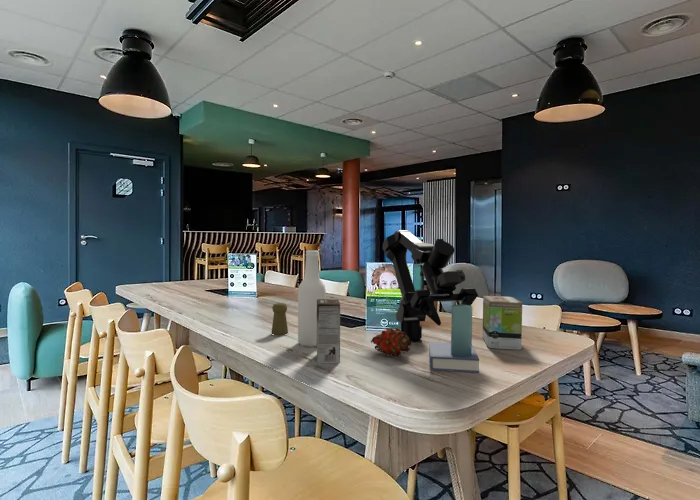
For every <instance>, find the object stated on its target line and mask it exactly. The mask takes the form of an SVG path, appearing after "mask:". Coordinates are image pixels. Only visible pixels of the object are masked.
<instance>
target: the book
mask: <svg viewBox="0 0 700 500" xmlns="http://www.w3.org/2000/svg"><path fill="white" fill-rule="evenodd" d="M428 342H429V345H428V347H429V348H428V351H429V353H428V354H429V357H428V358H429V370H430V371H440V372H442V371H445V372H459V373H460V372H461V373H462V372H463V373H475V374H479V373H480V358H479V356H478V353H477V352H476V350H475V348H474V345H473V344H472V355H471V356H467V357H462V356H455V355H452V354H451V341H450V342H446V341H428Z"/></svg>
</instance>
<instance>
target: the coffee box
mask: <svg viewBox="0 0 700 500" xmlns="http://www.w3.org/2000/svg"><path fill="white" fill-rule="evenodd" d="M316 358H317V359H316V361H317V362H316V363H317V364H339V363H338V362H340V363H341V303H340V301H339V299H331V298H326V299H317V346H316Z"/></svg>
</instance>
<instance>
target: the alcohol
mask: <svg viewBox="0 0 700 500" xmlns="http://www.w3.org/2000/svg"><path fill="white" fill-rule="evenodd" d="M319 267H320V266H319V251H318V250H316V249H314V250H306V251H305V268H304V277H303V279H302V281H301V282H300V284H299V286H298V290H297V291H298V292H297V300H298V301H297V302H298V303H297V329H298V330H297V342H298V343H299V345H300V346H301V345H303V347H306V346H316V347H317V299H327V297H326V296H327V295H326V294H327V291H326V286H325V285H326V284H324V282H323V281H322V280H321V277H320V271H319V269H320V268H319Z"/></svg>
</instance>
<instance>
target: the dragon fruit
mask: <svg viewBox="0 0 700 500" xmlns="http://www.w3.org/2000/svg"><path fill="white" fill-rule="evenodd" d="M372 343H373V344H374V345H375V346H374V349H375V350H376V351H377V352H380V353H383V354H384V353H386V354H385V355H386V356H387V357H391V356H392V355H394V356H395V357H398V356H399V357H401V355H402V353H408V352H409V351H410V350H411V348H410V346H411V344H412V341H410V339H409V337H408V336H407V335H406V333H405V332H402V331H401V328H399V327H395V329H393V328H390V327H386V328H385V330H382V331H381V333H380V334H377V335H376V336H374V337H372V338H371V339H370V344H372Z"/></svg>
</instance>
